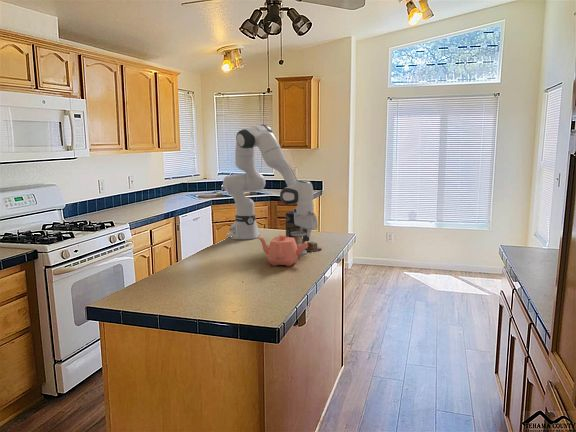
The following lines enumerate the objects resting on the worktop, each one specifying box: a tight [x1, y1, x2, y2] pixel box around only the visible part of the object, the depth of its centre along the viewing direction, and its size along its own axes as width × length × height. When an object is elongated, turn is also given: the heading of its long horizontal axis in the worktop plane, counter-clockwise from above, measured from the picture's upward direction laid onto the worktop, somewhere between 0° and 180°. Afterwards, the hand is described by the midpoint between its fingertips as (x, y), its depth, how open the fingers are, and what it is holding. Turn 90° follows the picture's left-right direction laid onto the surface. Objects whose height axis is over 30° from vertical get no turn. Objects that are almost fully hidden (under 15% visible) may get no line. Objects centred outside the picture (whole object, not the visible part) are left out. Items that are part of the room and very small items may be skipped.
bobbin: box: [290, 231, 308, 256], centre depth 235 cm, size 8×8×11 cm
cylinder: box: [302, 228, 310, 242], centre depth 246 cm, size 4×4×8 cm
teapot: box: [256, 234, 308, 267], centre depth 217 cm, size 18×18×14 cm
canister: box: [284, 210, 301, 239], centre depth 264 cm, size 10×10×18 cm
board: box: [302, 238, 323, 253], centre depth 247 cm, size 18×7×4 cm, turn 34°
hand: (305, 235), depth 246 cm, fingers closed on cylinder, 4 cm apart
